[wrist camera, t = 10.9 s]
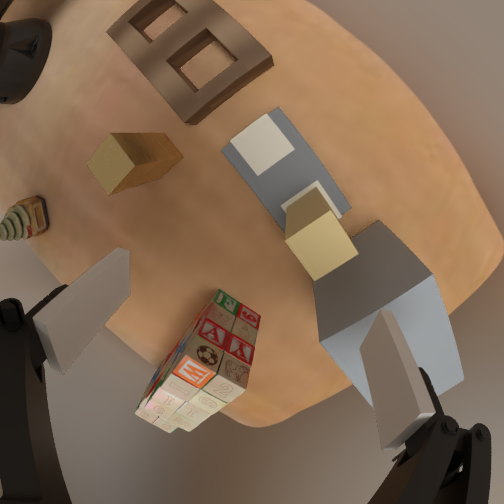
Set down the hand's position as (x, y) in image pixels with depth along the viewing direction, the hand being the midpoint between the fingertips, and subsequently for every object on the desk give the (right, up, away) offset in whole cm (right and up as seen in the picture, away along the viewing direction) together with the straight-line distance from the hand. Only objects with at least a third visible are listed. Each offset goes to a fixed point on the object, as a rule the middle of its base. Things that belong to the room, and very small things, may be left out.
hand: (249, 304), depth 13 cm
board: (+4, +10, +13) cm, 17 cm away
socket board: (-6, +24, +9) cm, 27 cm away
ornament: (-33, +8, +20) cm, 40 cm away
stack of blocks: (-7, -11, +24) cm, 27 cm away
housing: (+14, -2, +17) cm, 22 cm away
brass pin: (-9, +13, +14) cm, 21 cm away
